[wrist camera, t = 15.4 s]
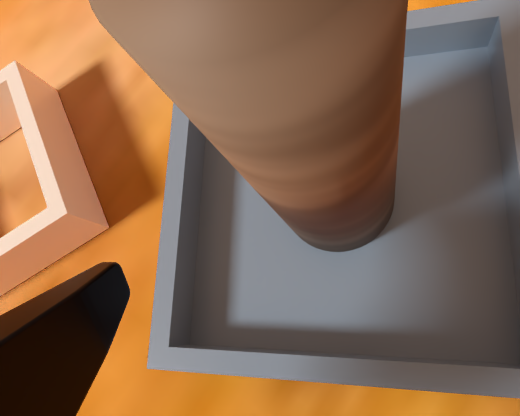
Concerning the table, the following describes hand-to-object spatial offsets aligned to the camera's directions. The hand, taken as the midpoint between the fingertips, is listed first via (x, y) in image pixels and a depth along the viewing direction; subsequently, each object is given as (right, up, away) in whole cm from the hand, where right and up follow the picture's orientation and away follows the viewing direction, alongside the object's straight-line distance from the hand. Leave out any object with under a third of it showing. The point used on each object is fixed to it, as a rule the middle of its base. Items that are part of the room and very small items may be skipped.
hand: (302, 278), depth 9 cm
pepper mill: (+2, +2, +8) cm, 8 cm away
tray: (+3, +2, +9) cm, 9 cm away
